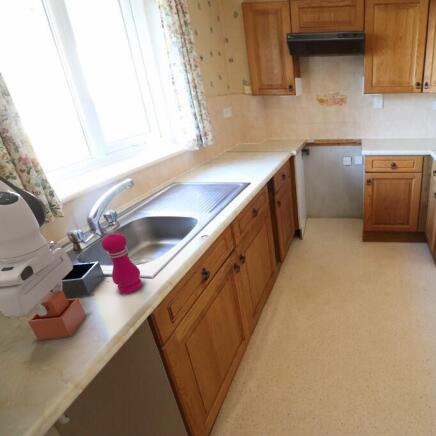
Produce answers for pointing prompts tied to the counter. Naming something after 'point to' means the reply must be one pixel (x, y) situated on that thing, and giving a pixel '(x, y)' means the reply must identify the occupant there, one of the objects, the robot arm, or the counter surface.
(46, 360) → the counter surface
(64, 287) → the grey bin
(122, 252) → the pepper mill
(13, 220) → the robot arm
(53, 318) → the terracotta bin
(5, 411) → the counter surface
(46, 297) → the terracotta block
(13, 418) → the counter surface
